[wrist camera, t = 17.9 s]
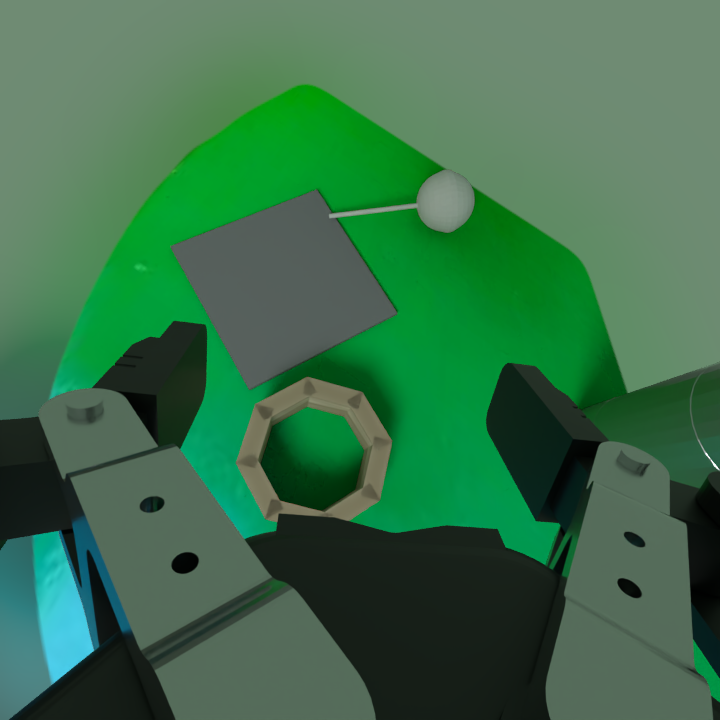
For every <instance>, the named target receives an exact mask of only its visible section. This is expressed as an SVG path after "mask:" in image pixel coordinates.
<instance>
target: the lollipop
mask: <svg viewBox="0 0 720 720" xmlns="http://www.w3.org/2000/svg"><path fill="white" fill-rule="evenodd" d="M412 208H417V211H418V214H419V217H420V218H421V220H422V221H423V222H424V223H425V225H426V226H428V227H429V228H431V229H433V230H436V231H441V232H445V233H449V232H453V231H454V230H456V229H457V228H459V227H460V226H461V225H463V224H464V223H465V222H466V221H467V220H468V218H469V217H470V215H471V213H472V211H473V208H474V191H473V189H472V187H471V184H470V183H469V182H468V180H467V179H466V178H464V177H463V176H461V175H460V174H458V173H456V172H453V171H452V170H443V171H441V172H439V173H436V174H434V175H432V176H431V177H429V178H428V179H427V180H426V181H425V182H424V183H423V185H422V186H421V188H420V190H419V192H418V195H417V202H416V203H414V204H406V205H398V206H390V207H381V208H373V209H365V210H357V211H348V212H340V213H332V214H329V218H338V217H346V216H354V215H362V214H371V213H379V212H387V211H395V210H404V209H412Z"/></svg>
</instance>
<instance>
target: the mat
mask: <svg viewBox="0 0 720 720" xmlns="http://www.w3.org/2000/svg"><path fill="white" fill-rule="evenodd" d="M329 214H332V212H331V210H330V209H329V207H328V206H327V204H326V203H325V201H324V200H323V198H322V197H321V195H320V193H319V192H318V190H314V191H312V192H309V193H307V194H304V195H302V196H299V197H296V198H294V199H291V200H289V201H286V202H284V203H281V204H278V205H276V206H273V207H271V208H268V209H265V210H263V211H260V212H258V213H255V214H253V215H250V216H247V217H245V218H242V219H240V220H237V221H235V222H232V223H229V224H227V225H224V226H222V227H219V228H216V229H214V230H211V231H209V232H206V233H204V234H201V235H198V236H196V237H193V238H191V239H188V240H185V241H183V242H180V243H178V244H175V245H173V246H170V247H171V249H172V251H173V253H174V254H175V256H176V258H177V260H178V262H179V263H180V265H181V267H182V269H183V271H184V272H185V274H186V276H187V278H188V280H189V282H190V283H191V285H192V287H193V289H194V291H195V292H196V294H197V296H198V298H199V300H200V302H201V303H202V305H203V307H204V309H205V311H206V312H207V314H208V316H209V318H210V320H211V321H212V323H213V325H214V327H215V329H216V331H217V332H218V334H219V336H220V338H221V340H222V341H223V343H224V345H225V347H226V349H227V350H228V352H229V354H230V356H231V358H232V360H233V361H234V363H235V365H236V367H237V369H238V370H239V372H240V374H241V376H242V378H243V380H244V381H245V383H246V385H247V387H248V389H249V390H251V389H253V388H255V387H257V386H259V385H261V384H263V383H264V382H266V381H268V380H270V379H272V378H274V377H276V376H278V375H280V374H282V373H284V372H286V371H288V370H290V369H292V368H294V367H296V366H298V365H300V364H301V363H303V362H305V361H307V360H309V359H311V358H313V357H315V356H317V355H319V354H321V353H323V352H325V351H327V350H329V349H331V348H333V347H335V346H336V345H338V344H340V343H342V342H344V341H346V340H348V339H350V338H352V337H354V336H356V335H358V334H360V333H362V332H364V331H366V330H368V329H370V328H372V327H373V326H375V325H377V324H379V323H381V322H383V321H385V320H387V319H389V318H391V317H393V316H395V315H397V312H396V310H395V309H394V307H393V306H392V304H391V303H390V301H389V299H388V298H387V296H386V295H385V293H384V292H383V290H382V289H381V287H380V286H379V284H378V283H377V281H376V279H375V278H374V276H373V275H372V273H371V272H370V270H369V269H368V267H367V266H366V264H365V263H364V261H363V260H362V258H361V256H360V255H359V253H358V252H357V250H356V249H355V247H354V246H353V244H352V243H351V241H350V240H349V238H348V236H347V235H346V233H345V232H344V230H343V229H342V227H341V226H340V224H339V223H338V221H337V220H336V218H329Z"/></svg>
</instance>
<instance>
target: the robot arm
mask: <svg viewBox="0 0 720 720" xmlns="http://www.w3.org/2000/svg"><path fill="white" fill-rule="evenodd" d="M206 363H207V329H206V325H204V324H196V323H188V322H180V321H174V322H172V324H171V325H170V326H169V327H168V328H167V330H166V331H165V332H164V333H163V334H162V336H161V337H160V338H155V337H148V338H146V339H144V340H141V341H139V342H137V343H135V344H133V345H132V346H131V347H130V348H129V349H128V350H127V351H126V352H125V353H124V354H123V357H120V358H119V359H118V361H117V362H116V363H115V366H114V365H113V366H112V367H111V368H110V369H109V370H108V371H107V372H106V373H105V374H104V375H103V377H102V378H101V379H100V380H99V381H98V382H97V383H96V384H95V385H94V386H93V387H92V388H89V389H80V390H74V391H70V392H66V393H63V394H60V395H58V396H55V397H54V398H52V399H50V400H48V401H47V402H46V403H45V404H44V405H43V406H42V407H41V408H40V410H39V414H38V415H39V417H32V418H22V419H10V420H0V550H1V548H2V547H3V545H4V544H5V543H6V541H7V539H13V538H19V537H25V536H31V535H37V534H42V533H48V532H54V531H59V536H60V539H61V542H62V545H63V548H64V551H65V554H66V557H67V560H68V563H69V566H70V569H71V572H72V575H73V578H74V581H75V584H76V587H77V590H78V593H79V596H80V599H81V602H82V605H83V608H84V612H85V616H86V620H87V624H88V628H89V633H90V637H91V641H92V644H93V648H94V651H93V652H92V653H91V654H90V655H88V656H87V657H86V658H85V659H83V660H82V661H81V662H80V663H78V664H77V665H76V666H75V667H73V668H72V669H71V670H70V671H68V672H67V673H66V674H65V675H64V676H62V677H61V678H60V679H59V680H57V681H56V682H55V683H54V684H52V685H51V686H50V687H49V688H47V689H46V690H45V691H44V692H43V693H41V694H40V695H39V696H38V697H36V698H35V699H34V700H33V701H31V702H30V703H29V704H28V705H27V706H25V707H24V708H23V709H22V710H20V711H19V712H18V713H17V714H15V715H14V716H13V717H12V718H10V719H9V720H720V703H719V702H718V701H717V700H716V699H714V698H713V697H712V696H711V693H710V689H709V685H708V683H707V681H706V679H705V678H704V677H703V676H702V675H700V674H699V673H698V672H697V671H696V669H695V665H694V653H693V640H694V641H695V643H696V644H697V645H698V647H699V648H700V650H701V651H702V653H703V654H704V656H705V657H706V659H707V660H708V662H709V663H710V665H711V666H712V668H713V669H714V671H715V672H716V674H717V675H718V677H719V678H720V362H718V363H715V364H713V365H709V366H707V367H704V368H701V369H698V370H695V371H692V372H689V373H686V374H683V375H680V376H677V377H674V378H671V379H669V380H666V381H663V382H660V383H657V384H654V385H651V386H648V387H645V388H642V389H639V390H636V391H633V392H631V393H628V394H625V395H622V396H619V397H615V398H612V399H610V400H607V401H604V402H601V403H598V404H595V405H593V406H590V407H587V408H584V409H583V410H580V409H578V406H577V405H576V404H575V403H574V402H573V401H572V400H571V399H570V398H569V397H568V396H567V395H566V394H564V393H563V392H561V391H560V390H558V389H557V388H555V387H554V386H553V385H552V383H551V382H550V381H549V380H548V379H547V378H546V377H545V376H544V375H543V374H542V372H541V371H540V370H539V369H538V368H537V367H535V366H530V365H522V364H514V363H507V364H506V365H505V366H504V367H503V369H502V371H501V373H500V376H499V379H498V382H497V385H496V388H495V391H494V394H493V397H492V400H491V403H490V406H489V409H488V412H487V418H486V425H487V431H488V433H489V435H490V437H491V439H492V441H493V443H494V445H495V446H496V448H497V450H498V452H499V454H500V456H501V458H502V459H503V461H504V463H505V465H506V467H507V469H508V470H509V472H510V474H511V476H512V478H513V480H514V481H515V483H516V485H517V487H518V489H519V491H520V492H521V494H522V496H523V498H524V500H525V502H526V503H527V505H528V507H529V509H530V511H531V513H532V515H533V516H534V518H535V520H536V521H540V522H553V523H559V524H560V527H559V529H558V531H557V534H556V536H555V538H554V541H553V543H552V546H551V549H550V552H549V555H548V558H547V561H546V564H545V565H544V564H542V563H540V562H539V561H537V560H535V559H533V558H531V557H529V556H527V555H525V554H522V553H520V552H517V551H514V550H512V549H509V548H505V545H504V543H503V541H502V538H501V536H500V534H499V532H498V529H488V528H474V527H461V526H447V525H446V526H440V527H433V528H426V529H420V530H413V531H407V532H400V533H391V532H386V531H383V530H379V529H375V528H372V527H368V526H364V525H361V524H357V523H354V522H350V521H346V520H343V519H339V518H335V517H323V516H309V515H295V514H281V513H279V514H278V522H277V530H276V531H274V532H268V533H263V534H259V535H255V536H252V537H249V538H246V539H244V538H243V537H242V536H241V534H240V533H239V531H238V530H237V529H236V527H235V526H234V524H233V523H232V522H231V520H230V519H229V517H228V516H227V515H226V513H225V512H224V510H223V509H222V508H221V506H220V505H219V503H218V502H217V501H216V499H215V498H214V496H213V495H212V494H211V492H210V491H209V489H208V488H207V487H206V485H205V484H204V482H203V481H202V480H201V478H200V477H199V475H198V474H197V473H196V471H195V470H194V469H193V467H192V466H191V464H190V463H189V462H188V460H187V459H186V457H185V456H184V455H183V453H182V452H181V450H180V448H181V446H182V444H183V442H184V440H185V438H186V436H187V433H188V431H189V429H190V427H191V425H192V423H193V421H194V419H195V416H196V414H197V412H198V410H199V408H200V406H201V404H202V401H203V398H204V393H205V387H206Z"/></svg>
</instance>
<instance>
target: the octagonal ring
mask: <svg viewBox="0 0 720 720" xmlns="http://www.w3.org/2000/svg"><path fill="white" fill-rule="evenodd" d="M306 407H311V408H314V409H318V410H322V411H325V412H329V413H333V414H336V415H340V416H344V417H345V418H346V420H347V422H348V423H349V425H350V427H351V429H352V430H353V432H354V434H355V435H356V437H357V439H358V440H359V442H360V444H361V445H362V447H363V449H364V454H363V459H362V463H361V467H360V471H359V476H358V480H357V484H356V489H355V490H354V491H353V492H351V493H349V494H348V495H346V496H345V497H343V498H342V499H340V500H338V501H337V502H335V503H334V504H332V505H331V506H329V507H327V508H326V509H324V510H323V511H318V510H314V509H310V508H306V507H302V506H299V505H295V504H291V503H287V502H283V501H280V500H279V498H278V497H277V495H276V493H275V491H274V489H273V487H272V485H271V484H270V482H269V480H268V478H267V476H266V474H265V472H264V471H263V469H262V467H261V465H260V464H261V461H262V458H263V454H264V451H265V448H266V445H267V442H268V438H269V435H270V432H271V429H272V426H273V425H275V424H276V423H278V422H280V421H282V420H284V419H286V418H287V417H289V416H291V415H293V414H295V413H296V412H298V411H300V410H302V409H304V408H306ZM391 445H392V440H391V438H390V437H389V435H388V434H387V432H386V430H385V429H384V427H383V425H382V424H381V422H380V420H379V419H378V417H377V415H376V414H375V412H374V411H373V409H372V407H371V406H370V404H369V402H368V401H367V399H366V397H365V396H364V394H363V392H360V391H357V390H353V389H349V388H346V387H342V386H339V385H335V384H331V383H328V382H324V381H321V380H317V379H314V378H310V377H306V378H304V379H302V380H300V381H299V382H297V383H295V384H293V385H291V386H289V387H287V388H285V389H283V390H281V391H280V392H278V393H276V394H274V395H272V396H270V397H268V398H266V399H264V400H262V401H261V402H259V403H257V404H255V407H254V410H253V413H252V416H251V419H250V422H249V425H248V428H247V431H246V434H245V437H244V440H243V443H242V446H241V449H240V452H239V455H238V458H237V461H236V464H237V466H238V468H239V470H240V472H241V474H242V475H243V477H244V479H245V481H246V483H247V485H248V487H249V489H250V491H251V493H252V494H253V496H254V498H255V500H256V502H257V504H258V506H259V508H260V510H261V512H262V514H263V515H264V517H265V519H267V520H270V521H274V522H278V514H279V513H281V514H295V515H309V516H323V517H335V518H339V519H343V520H346V521H349V520H351V519H352V518H354V517H355V516H357V515H358V514H360V513H361V512H363V511H364V510H366V509H367V508H369V507H370V506H372V505H373V504H375V503H377V502H378V501H380V497H381V492H382V487H383V483H384V478H385V473H386V468H387V464H388V459H389V454H390V450H391Z"/></svg>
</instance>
